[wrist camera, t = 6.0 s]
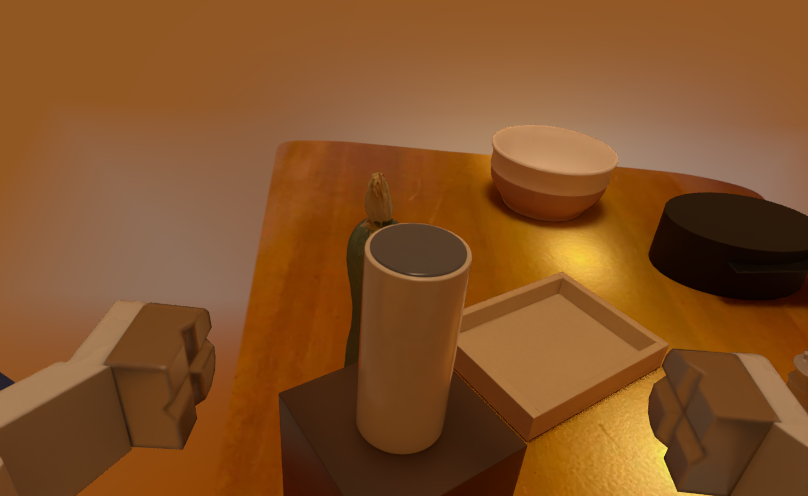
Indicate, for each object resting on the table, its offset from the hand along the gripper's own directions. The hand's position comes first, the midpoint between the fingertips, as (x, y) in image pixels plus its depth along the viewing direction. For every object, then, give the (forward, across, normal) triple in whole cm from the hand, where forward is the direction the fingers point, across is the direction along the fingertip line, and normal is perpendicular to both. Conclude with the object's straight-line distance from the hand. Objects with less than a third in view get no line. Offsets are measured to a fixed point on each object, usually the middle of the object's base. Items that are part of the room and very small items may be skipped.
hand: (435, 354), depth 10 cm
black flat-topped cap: (+49, -37, +28) cm, 68 cm away
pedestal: (+12, 0, +27) cm, 30 cm away
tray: (+32, -13, +27) cm, 44 cm away
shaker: (+12, 0, +15) cm, 20 cm away
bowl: (+62, -17, +28) cm, 70 cm away
